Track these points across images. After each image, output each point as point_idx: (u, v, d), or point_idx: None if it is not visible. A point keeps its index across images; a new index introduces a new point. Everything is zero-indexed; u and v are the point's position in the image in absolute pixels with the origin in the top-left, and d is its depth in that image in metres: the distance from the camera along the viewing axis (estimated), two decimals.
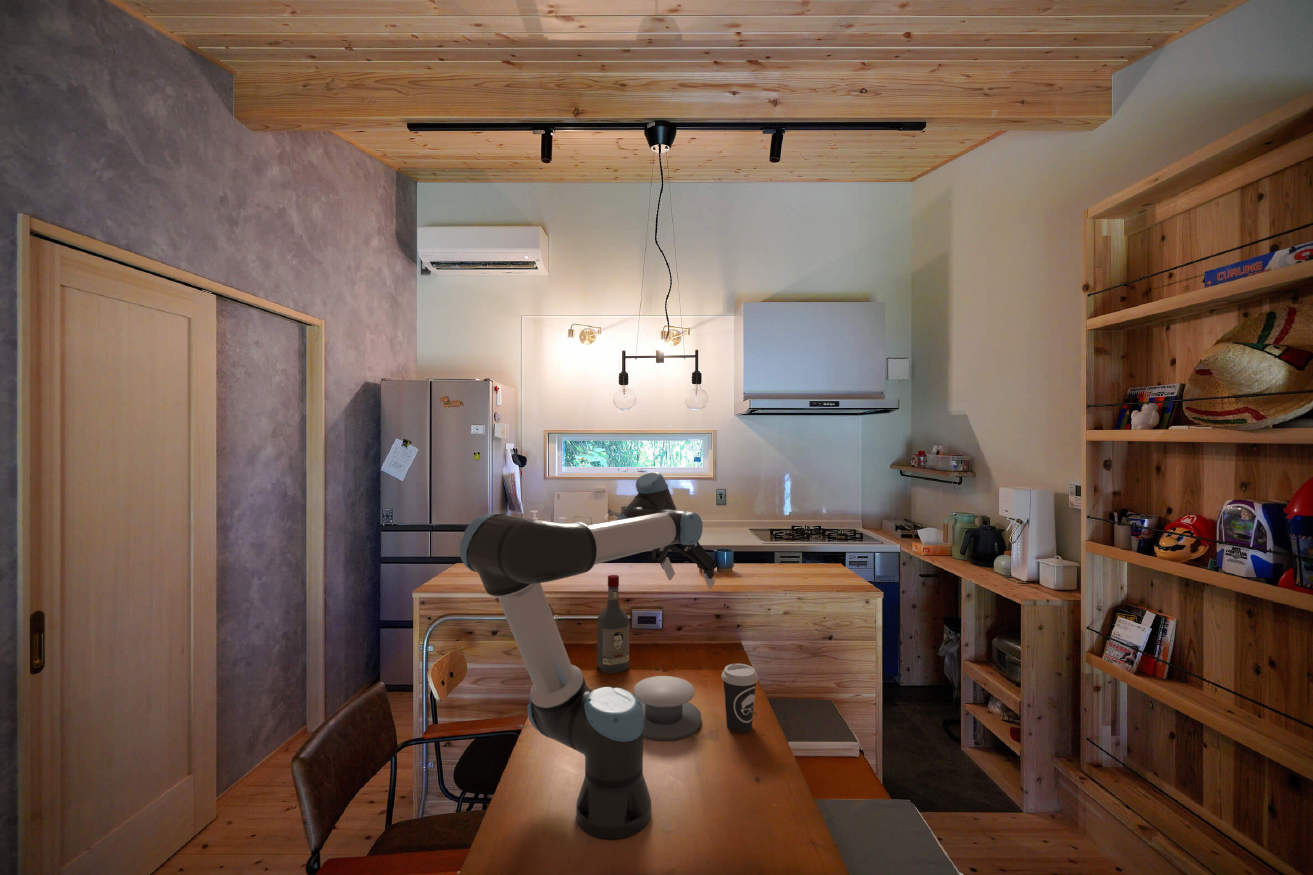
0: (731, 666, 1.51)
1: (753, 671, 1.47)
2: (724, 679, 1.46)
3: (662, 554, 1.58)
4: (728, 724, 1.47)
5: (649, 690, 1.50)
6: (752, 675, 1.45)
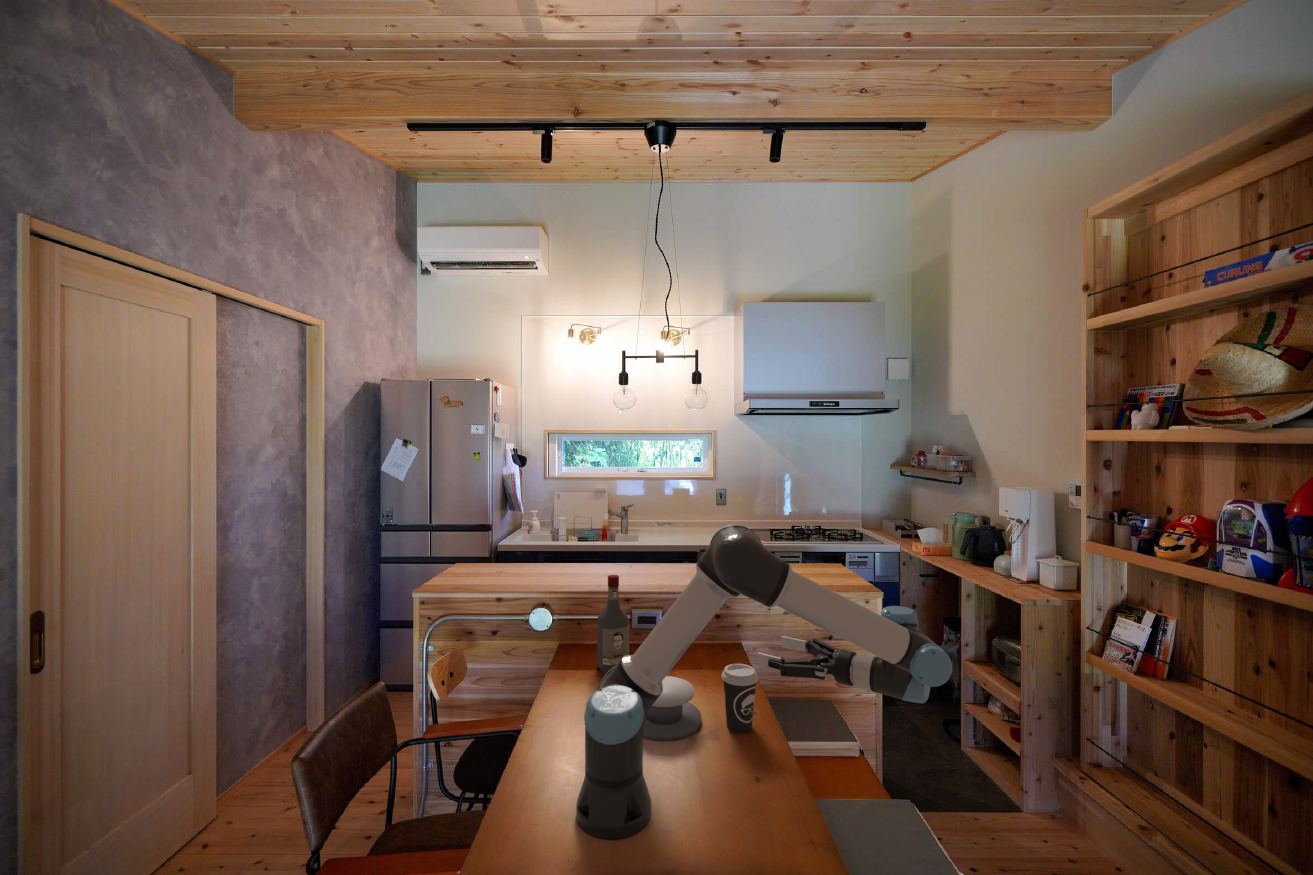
0: (731, 666, 1.51)
1: (753, 671, 1.47)
2: (724, 679, 1.46)
3: (817, 646, 1.41)
4: (728, 724, 1.47)
5: None
6: (752, 675, 1.45)
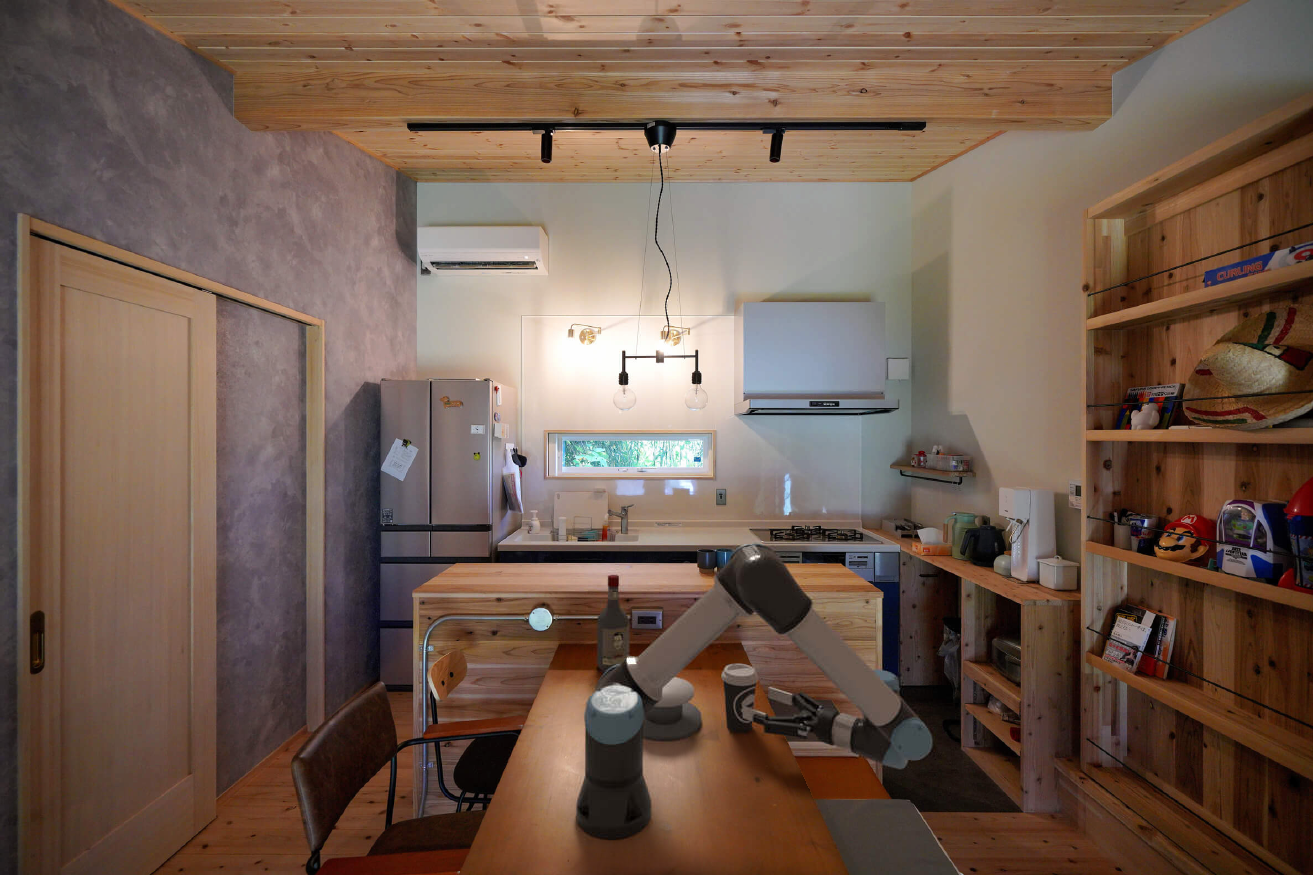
0: (731, 666, 1.51)
1: (753, 671, 1.47)
2: (724, 679, 1.46)
3: (803, 701, 1.43)
4: (728, 724, 1.47)
5: None
6: (752, 675, 1.45)
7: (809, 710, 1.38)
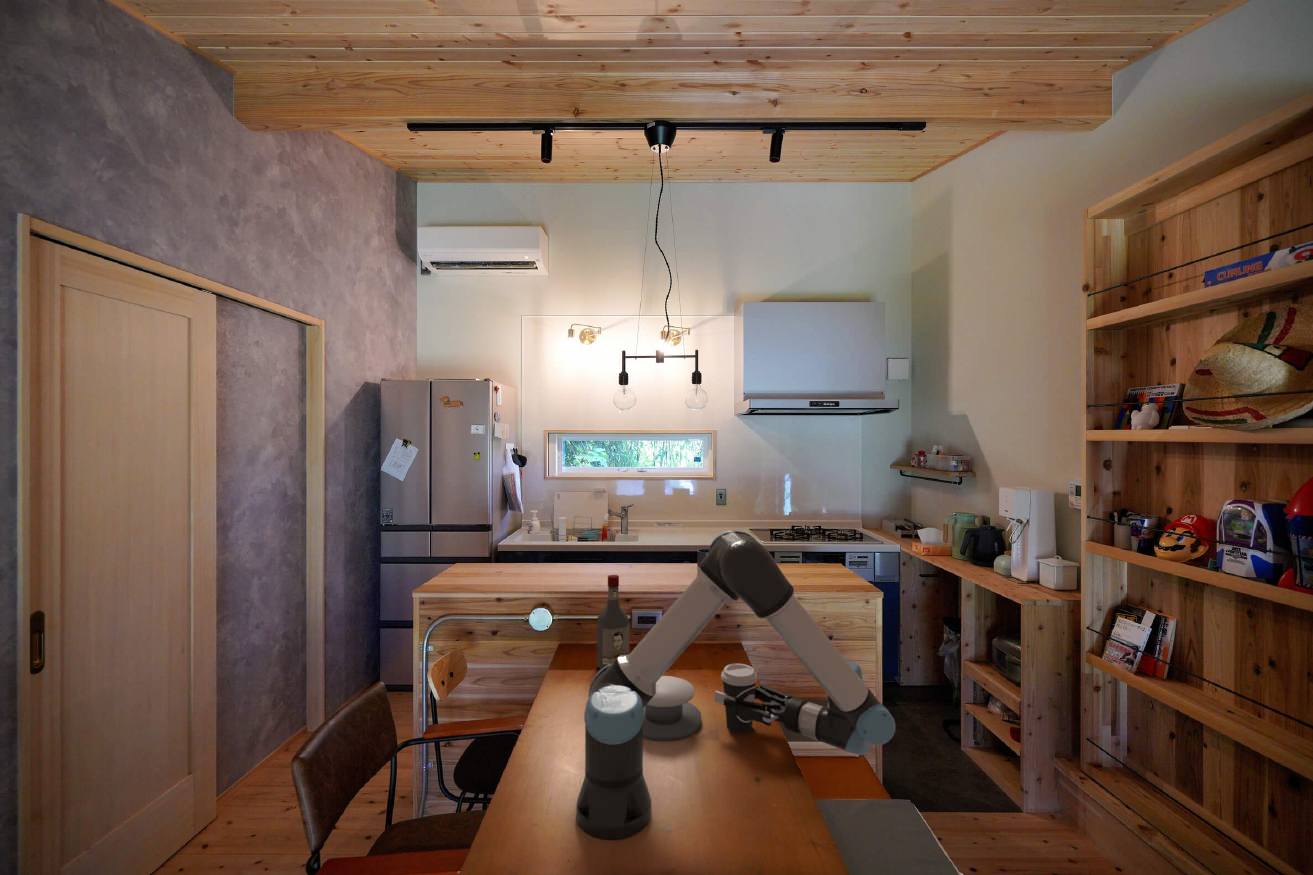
0: (730, 666, 1.51)
1: (752, 671, 1.47)
2: (724, 679, 1.46)
3: (766, 692, 1.47)
4: (728, 724, 1.47)
5: None
6: (751, 675, 1.45)
7: (777, 700, 1.43)
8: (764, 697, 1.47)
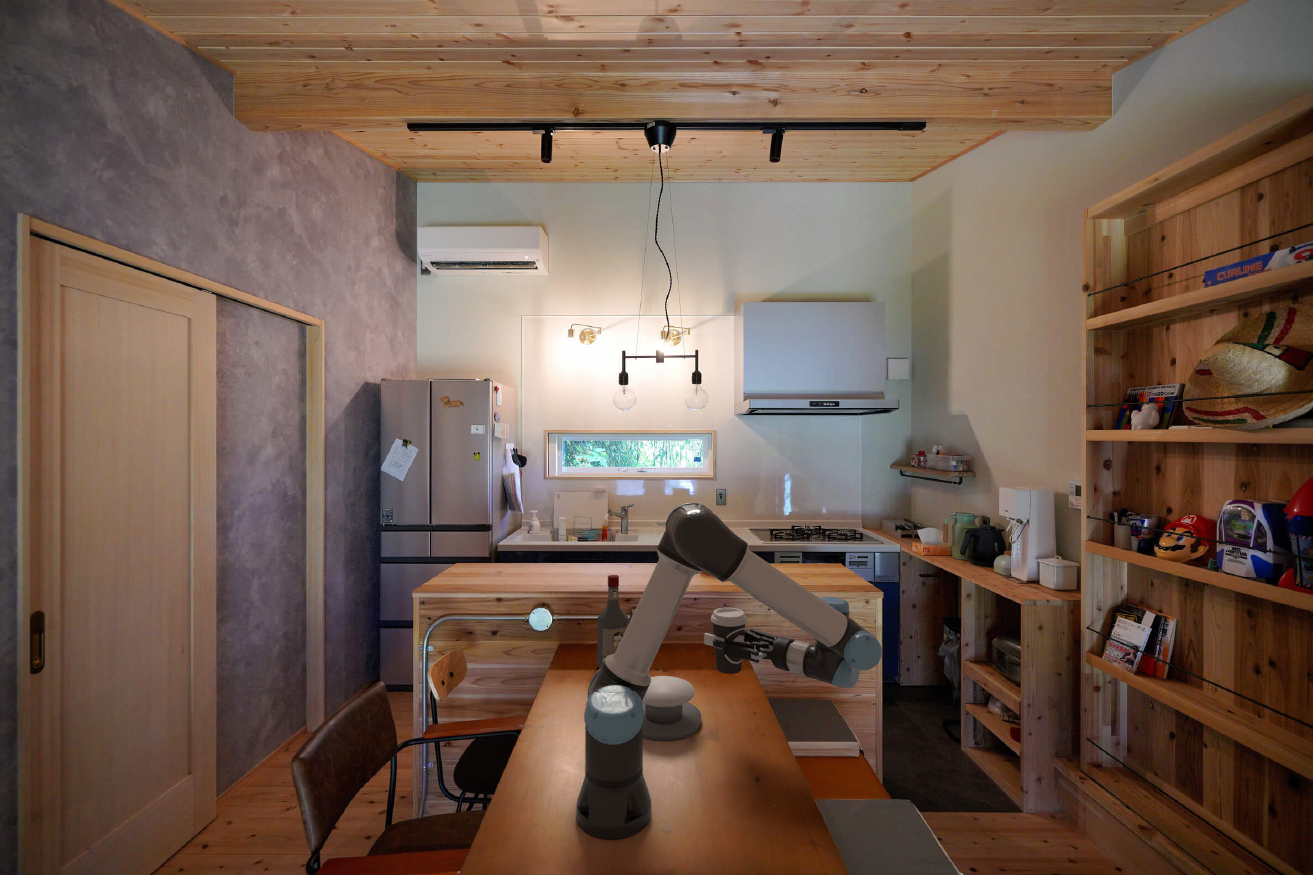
0: (720, 609, 1.51)
1: (742, 613, 1.48)
2: (713, 621, 1.47)
3: (756, 635, 1.48)
4: (717, 666, 1.48)
5: (649, 690, 1.50)
6: (741, 616, 1.46)
7: (766, 641, 1.43)
8: (753, 639, 1.48)
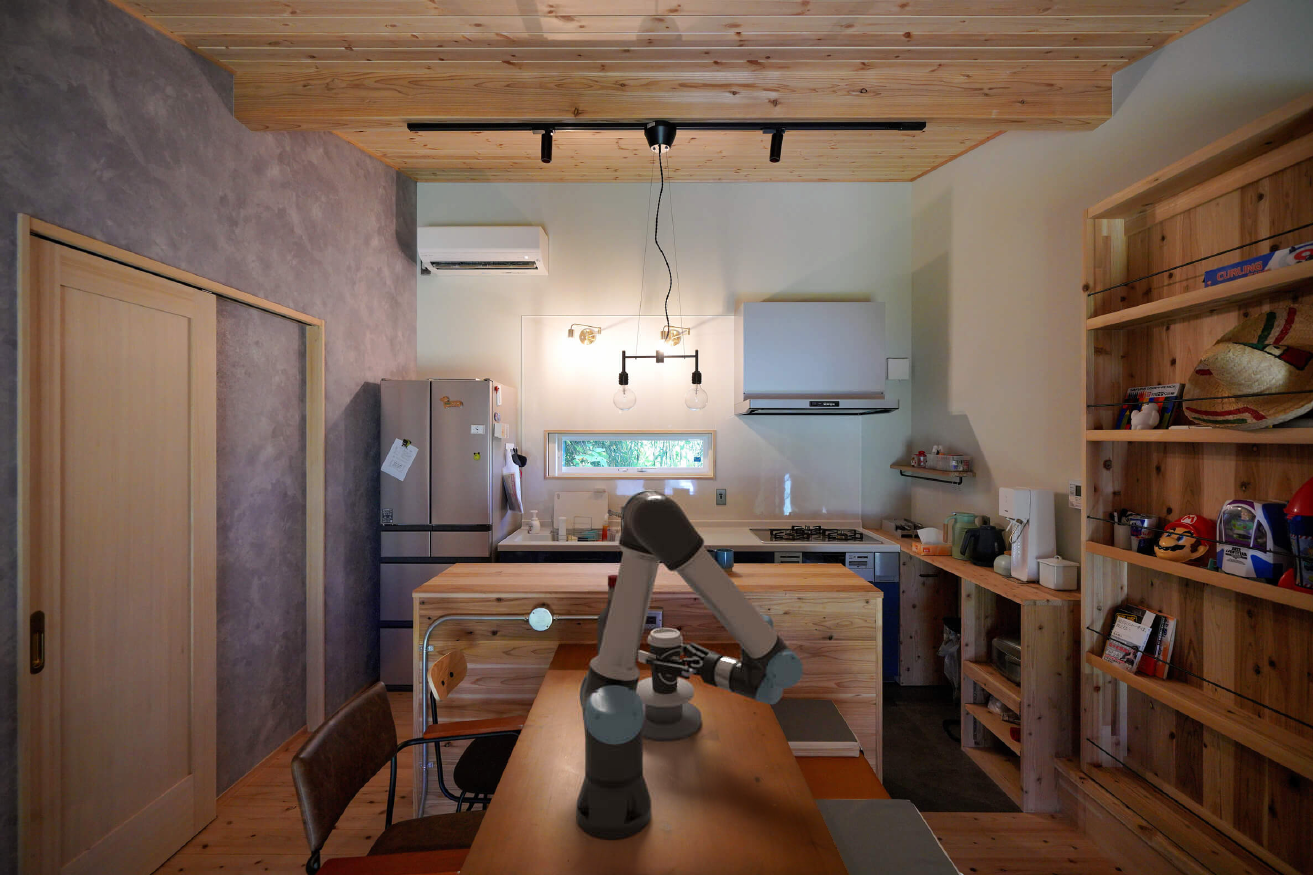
0: (658, 630, 1.54)
1: (678, 634, 1.50)
2: (649, 641, 1.49)
3: (693, 649, 1.51)
4: (653, 686, 1.50)
5: (649, 690, 1.50)
6: (676, 637, 1.48)
7: (699, 656, 1.46)
8: (690, 653, 1.50)
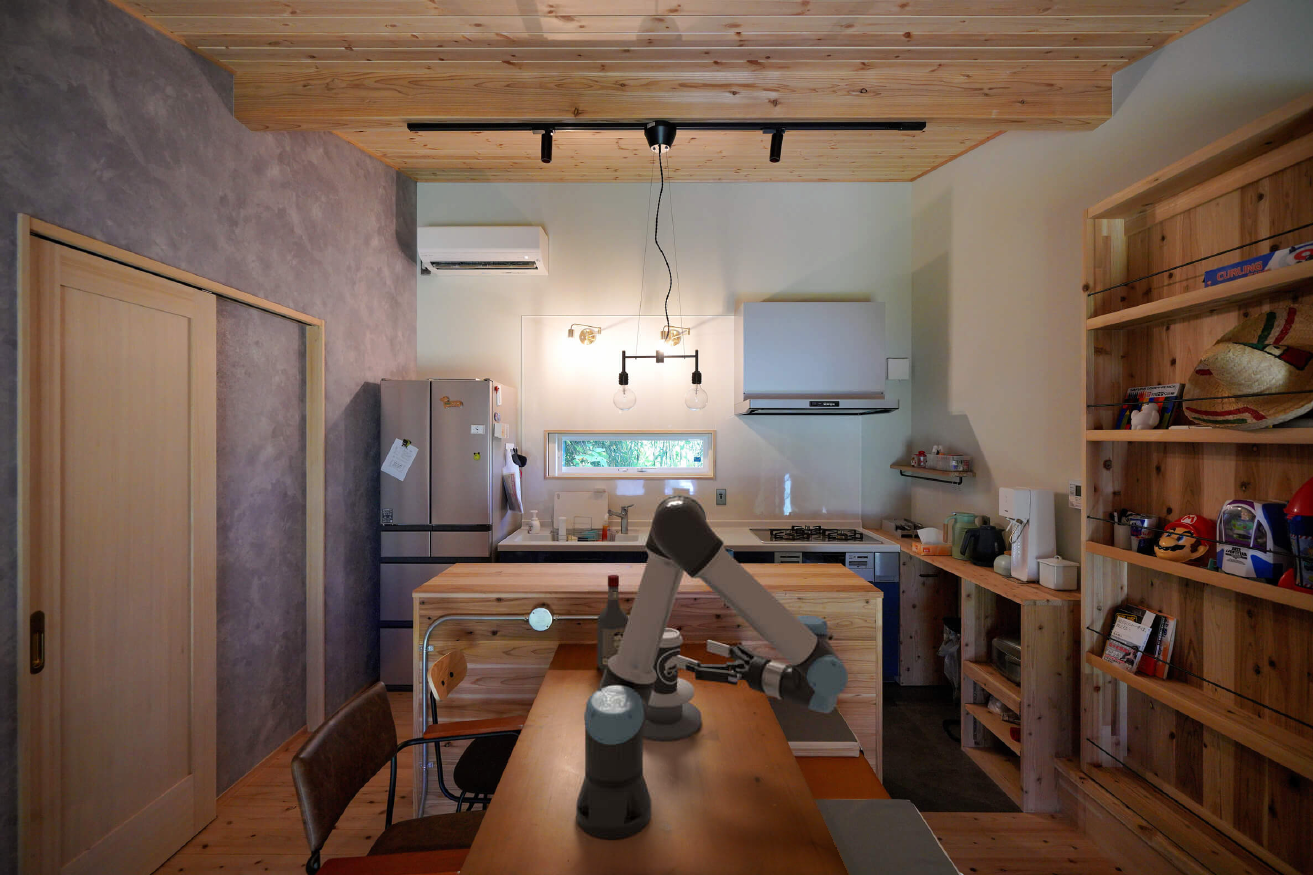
0: None
1: (677, 634, 1.50)
2: None
3: (739, 652, 1.42)
4: None
5: None
6: (676, 637, 1.48)
7: (743, 659, 1.37)
8: (736, 656, 1.42)
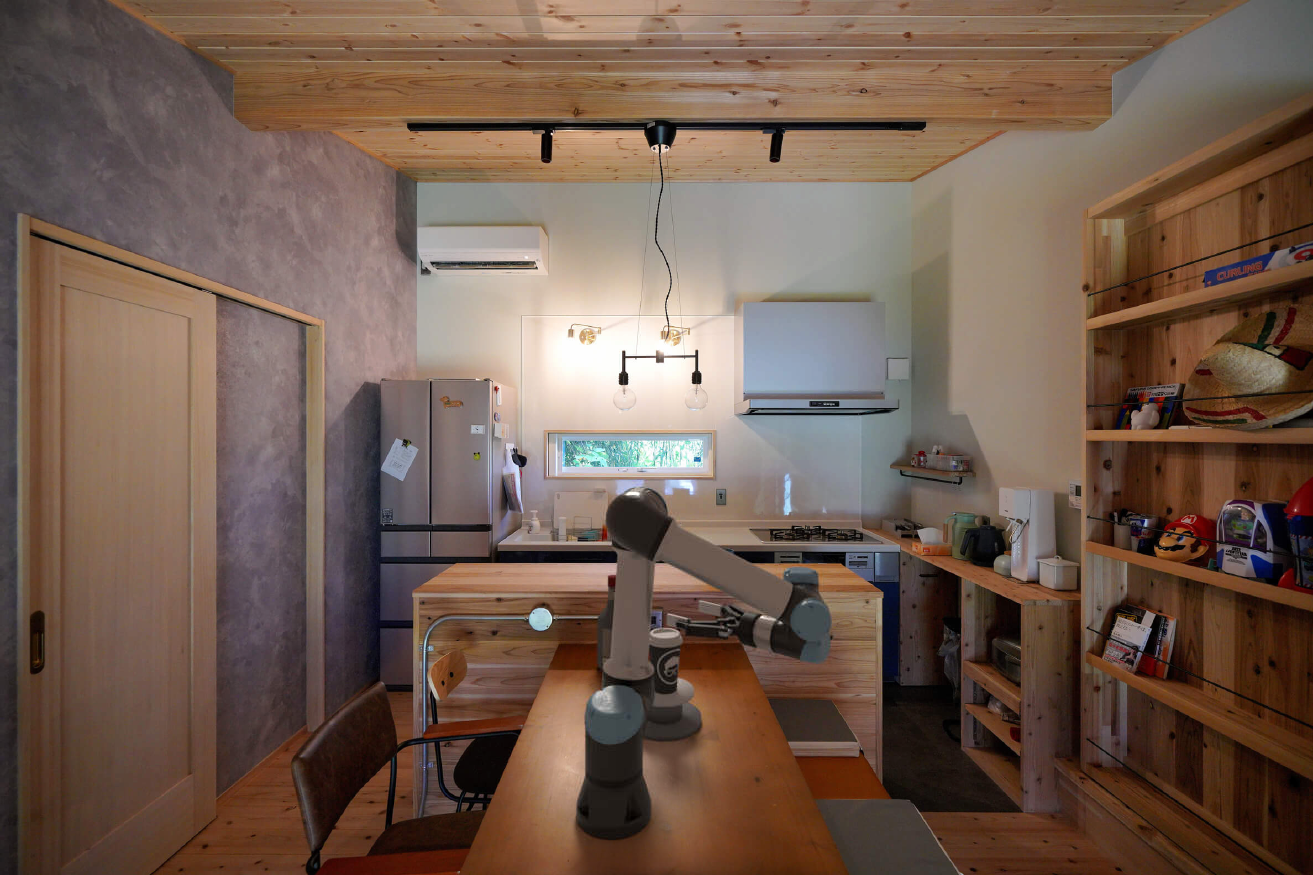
0: (658, 630, 1.54)
1: (677, 634, 1.50)
2: None
3: (730, 610, 1.40)
4: None
5: None
6: (676, 637, 1.48)
7: (734, 616, 1.34)
8: (727, 614, 1.39)
